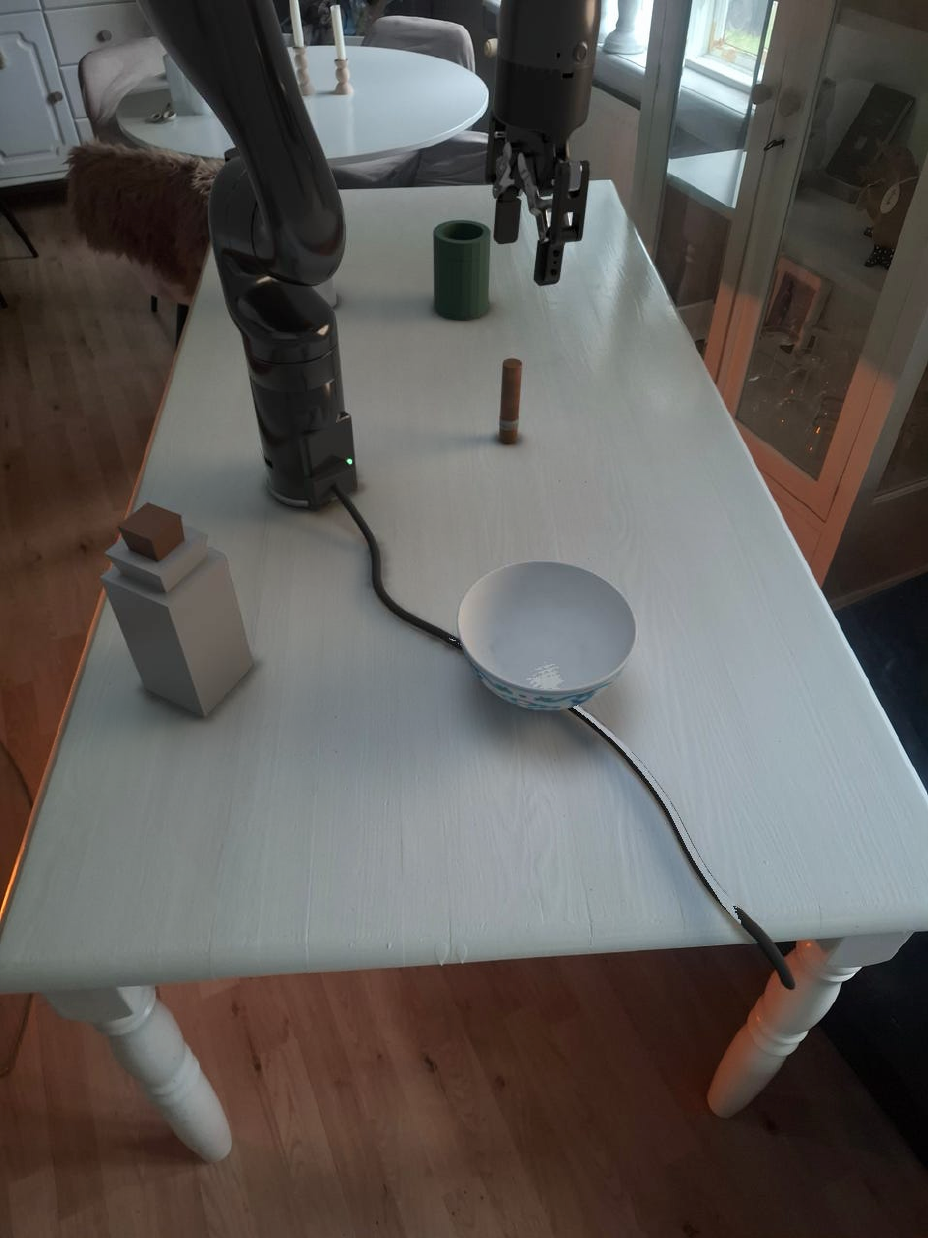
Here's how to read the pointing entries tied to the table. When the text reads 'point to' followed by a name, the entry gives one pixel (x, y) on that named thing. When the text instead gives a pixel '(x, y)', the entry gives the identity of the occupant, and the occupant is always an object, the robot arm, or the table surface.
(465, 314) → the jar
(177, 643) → the perfume bottle
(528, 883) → the table surface
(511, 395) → the brown banded cylinder
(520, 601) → the chinaware
